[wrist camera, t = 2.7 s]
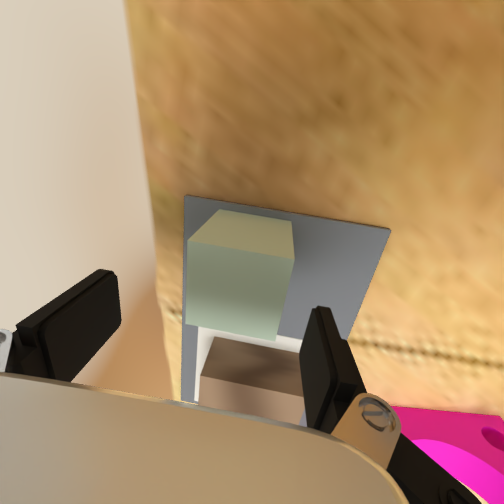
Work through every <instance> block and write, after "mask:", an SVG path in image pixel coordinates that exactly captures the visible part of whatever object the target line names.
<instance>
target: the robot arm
mask: <svg viewBox="0 0 504 504" xmlns="http://www.w3.org/2000/svg"><path fill="white" fill-rule="evenodd" d="M120 324H121V310H120V300H119V290H118V280H117V276H116V275H115V274H114V272H113V271H109V270H103V269H98V270H96V271H95V272H93V273H92V274H90V275H89V276H88V277H86V278H85V279H83V280H82V281H80V282H79V283H77V284H76V285H74V286H73V287H71V288H70V289H68V290H67V291H65V292H64V293H62V294H61V295H59V296H58V297H56V298H55V299H53V300H52V301H50V302H49V303H47V304H46V305H45V306H43V307H42V308H40V309H39V310H37V311H36V312H34V313H33V314H31V315H30V316H28V317H27V318H25V319H24V320H22V321H21V322H19V323H18V324H17V325H16V328H17V330H16V331H15V332H13V333H11V332H10V331H9V330H5V329H0V504H482V503H481V502H480V501H479V500H478V498H477V497H475V496H474V495H473V494H472V493H471V492H470V491H469V490H468V489H467V488H466V487H465V486H464V485H462V484H461V483H460V482H459V481H458V480H457V479H455V478H454V477H453V476H452V475H451V474H449V473H448V472H447V471H446V470H445V469H444V468H442V467H441V466H440V465H439V464H438V463H436V462H435V461H434V460H433V459H432V458H431V457H429V456H428V455H427V454H426V453H425V452H424V451H422V450H421V449H420V448H419V447H418V446H416V445H415V444H414V443H413V442H412V441H411V440H409V439H408V438H407V437H406V436H405V435H403V434H402V433H401V423H400V419H399V417H398V415H397V414H396V412H395V411H394V409H393V408H392V407H391V406H390V405H389V404H388V403H387V402H386V401H384V400H383V399H381V398H380V397H378V396H376V395H373V394H370V393H367V391H366V389H365V386H364V383H363V381H362V378H361V376H360V373H359V370H358V368H357V365H356V363H355V360H354V357H353V355H352V352H351V349H350V347H349V344H348V342H347V341H346V340H345V339H341V336H340V334H339V331H338V328H337V325H336V322H335V319H334V317H333V314H332V311H331V309H330V308H329V307H324V306H317V307H316V308H312V310H311V314H310V317H309V320H308V324H307V327H306V331H305V334H304V337H303V341H302V344H301V348H300V351H299V363H300V371H301V380H302V388H303V397H304V405H305V414H306V422H307V427H304V426H300V425H297V424H293V423H288V422H283V421H278V420H273V419H268V418H263V417H258V416H254V415H248V414H243V413H238V412H232V411H227V410H221V409H216V408H211V407H205V406H200V405H195V404H189V403H184V402H178V401H173V400H167V399H162V398H156V397H150V396H145V395H139V394H134V393H128V392H123V391H117V390H111V389H106V388H100V387H93V386H88V385H83V384H77V383H71V381H72V380H73V379H74V378H75V376H76V375H77V374H78V373H79V372H80V371H81V370H82V368H83V367H84V366H85V365H86V364H87V363H88V362H89V361H90V359H91V358H92V357H93V356H94V355H95V354H96V352H97V351H98V350H99V349H100V348H101V347H102V346H103V345H104V344H105V342H106V341H107V340H108V339H109V338H110V337H111V336H112V334H113V333H114V332H115V331H116V330H117V329H118V328H119V326H120Z"/></svg>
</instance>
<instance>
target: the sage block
mask: <svg viewBox="0 0 504 504" xmlns="http://www.w3.org/2000/svg"><path fill="white" fill-rule="evenodd" d="M294 261H295V256H294V245H293V234H292V223H291V221H287V220H281V219H275V218H269V217H263V216H258V215H252V214H246V213H240V212H234V211H228V210H222V209H219V210H218V211H217V212H216V213H215V214H214V215H213V216H212V217H211V218H210V219H209V220H208V221H207V222H206V223H205V224H204V225H203V226H202V227H201V228H200V229H199V230H198V231H196V232H195V233H194V234H193V235H192V236H191V237H190V238H189V239H188V240H187V277H186V317H185V324H189V325H194V326H199V327H204V328H209V329H214V330H219V331H224V332H229V333H234V334H239V335H244V336H249V337H254V338H259V339H264V340H270V341H275V340H276V336H277V332H278V328H279V324H280V319H281V315H282V311H283V307H284V303H285V298H286V294H287V290H288V286H289V282H290V277H291V273H292V269H293V265H294Z"/></svg>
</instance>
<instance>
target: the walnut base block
mask: <svg viewBox="0 0 504 504" xmlns="http://www.w3.org/2000/svg"><path fill="white" fill-rule="evenodd" d="M198 405H200V406H205V407H211V408H216V409H221V410H227V411H232V412H238V413H243V414H248V415H254V416H258V417H263V418H268V419H273V420H278V421H283V422H288V423H293V424H297V425H299V422H300V420H301V417H302V414H303V411H304V409H305V405H304V397H303V388H302V380H301V371H300V363H299V353H296V352H291V351H286V350H281V349H276V348H271V347H266V346H261V345H256V344H251V343H246V342H241V341H236V340H231V339H226V338H221V337H216V336H214V339H213V342H212V344H211V347H210V350H209V352H208V355H207V358H206V361H205V363H204V366H203V369H202V372H201V374H200V384H199V399H198Z"/></svg>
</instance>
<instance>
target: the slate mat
mask: <svg viewBox="0 0 504 504" xmlns="http://www.w3.org/2000/svg"><path fill="white" fill-rule="evenodd" d="M219 209H222V210H228V211H234V212H240V213H246V214H252V215H258V216H263V217H269V218H275V219H281V220H287V221H291V223H292V234H293V245H294V256H295V261H294V265H293V269H292V273H291V277H290V282H289V286H288V290H287V294H286V298H285V303H284V307H283V311H282V315H281V319H280V324H279V328H278V332H277V336H276V340H275V341H270V340H264V339H259V338H254V337H249V336H244V335H239V334H234V333H229V332H224V331H219V330H214V329H209V328H204V327H199V326H194V325H189V324H185V317H186V277H187V240H188V239H189V238H190V237H191V236H192V235H193V234H194V233H195V232H196V231H198V230H199V229H200V228H201V227H202V226H203V225H204V224H205V223H206V222H207V221H208V220H209V219H210V218H211V217H212V216H213V215H214V214H215V213H216V212H217V211H218V210H219ZM390 233H391V230H390V229H388V228H382V227H376V226H370V225H364V224H358V223H352V222H346V221H340V220H334V219H328V218H322V217H316V216H310V215H304V214H298V213H292V212H286V211H280V210H274V209H268V208H262V207H256V206H250V205H244V204H238V203H232V202H226V201H220V200H214V199H208V198H202V197H196V196H190V195H185V196H184V250H183V306H182V362H181V400H182V401H187V402H191V403H196V404H198V399H199V384H200V374H201V372H202V369H203V366H204V363H205V361H206V358H207V355H208V352H209V350H210V347H211V344H212V342H213V339H214V336H216V337H221V338H226V339H231V340H236V341H241V342H246V343H251V344H256V345H261V346H266V347H271V348H276V349H281V350H286V351H291V352H296V353H299V351H300V348H301V344H302V341H303V337H304V334H305V331H306V327H307V324H308V320H309V317H310V314H311V310H312V308H316V307H317V306H324V307H329V308H330V309H331V311H332V314H333V317H334V319H335V322H336V325H337V328H338V331H339V334H340V336H341V339H345V340H346V341H347V338H348V336H349V334H350V331H351V329H352V326H353V324H354V321H355V319H356V316H357V314H358V311H359V309H360V307H361V304H362V302H363V299H364V297H365V294H366V292H367V289H368V287H369V284H370V282H371V279H372V277H373V275H374V272H375V270H376V267H377V265H378V262H379V260H380V257H381V255H382V252H383V250H384V248H385V245H386V243H387V240H388V238H389V235H390ZM299 425H300V426H304V427H307V422H306V414H305V409H304V411H303V414H302V417H301V420H300V422H299Z"/></svg>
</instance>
